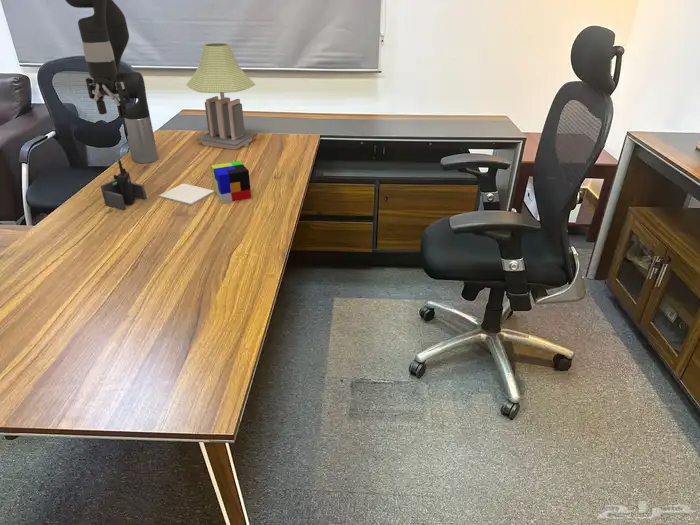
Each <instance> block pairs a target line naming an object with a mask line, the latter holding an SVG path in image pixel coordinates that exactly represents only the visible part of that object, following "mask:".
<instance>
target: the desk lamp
mask: <svg viewBox="0 0 700 525" xmlns="http://www.w3.org/2000/svg"><path fill="white" fill-rule="evenodd" d="M200 56H201V57H200V60H199V64H198V66H197V69H196V71H195V72H194V73H193V74H192V75H193V76H191V78H190V79H189V81H188V82H187V83H186V84H185V85H186V86H187V87H188V88H189V89H191V90H192V91H195V92H198V93H208V94H210V93H212V94H220V99H219V96H218V95H215V96H213V97H210V98H206V99H205V102H204V109H205V114H206V115H205V116H206V123H207V130H208V131H207V133H205V134H202V135H201V136H198V137H196V140H197V141H201V143H202V144H201V145H204V146H209V147H215V148H221V149H225V150H233V151H235V150H237V149H239V148H241V147H243V146H245V145H247V144H249V143H251V142H252V141H253V137H256V136H258V135H257V133H255V132H247V131H245V122H244V112H243V104H242V103H241V100H240V98H236V99H233V100H231V97H225V93H237V92H241V91H242V92H243V91H244V90H248V89H250V88H252V87H255V86H256V83H255V82H254V81H253V80H252V79H251V78H250V77H249V76H248V75H247V74H246V72H244V71H243V69H242V68H241V66H240V65H239V63H238V61H237V60H236V58H235V55H234V52H233V50H232V48H231V46H230V44H229V43H224V42H211V43H209V42H207V43H205V44H203V45H202V51H201V55H200Z"/></svg>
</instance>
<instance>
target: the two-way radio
mask: <svg viewBox="0 0 700 525" xmlns="http://www.w3.org/2000/svg"><path fill="white" fill-rule="evenodd" d="M117 163H118V168H119V172H120V173H119V174H118V175H117V174H114V175H113V180H116V182H117V185H118V188H119V192H120V194H121V195H123V199H124V203H125V206H129V205H133V204H134V202H135V200H136V198H135V196H134V192H133V188H132V183H131V182H132V180H131V177H130V176H131V175H130V173H129V172H127V170H126V168H123V165H122V161H121V160H120V159H118V160H117Z"/></svg>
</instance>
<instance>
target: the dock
mask: <svg viewBox="0 0 700 525" xmlns="http://www.w3.org/2000/svg"><path fill="white" fill-rule="evenodd" d="M131 183H132V188H133V192H134V196H135V199H138V200H143V201H146V200H148V197H147V194H146V188H145V185H144V184H141V183H136V182H134V181H131ZM99 186H100V188H101V193H102V196H103V200H104V205H105V206H106V207H111V208H113V209H118V210H121V211H126V210H127V206H126V204H125V203H124V199H123V195H121V194H120V192H119V188H118V185H117V182H116V180H115V179H112V180H110V181H108V182H105V183H103V184H100V185H99Z"/></svg>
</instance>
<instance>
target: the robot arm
mask: <svg viewBox="0 0 700 525" xmlns="http://www.w3.org/2000/svg"><path fill="white" fill-rule="evenodd" d="M65 2H66V4H68V5H69V6H71V7H73V8H78V9H82V8H83V9H85V8H87V9H88V8H89V9H91V8H92V9H93V14H92V15H90V16H86V17H81V18H80V19H78V21H77V26H78V29H79V34H80V38H81V41H82V49H83V55H84V59H85V62H86V67H87V70H88V74H89V76H90V77H86V78H85V84H86V87H87V92H88V97H89V99H90V100H94V102H95V104H96V107H97V111H98V114H100V115H101V116H102V115H106V114H107V113H108V111H107V107H106V102H105V100H104V99H105V97H106V96H107V97H109V98H110V99H111V100H114V103H115V104H116V107H117V111H118V116H119V118H120V119H124V123H125V128H126V132H127V136H126V137H127V138H126V139H127V143H128V148H129V152H130V156H131V160H133V161H134V163H138V164H149V163H153V162H156V161H157V160H158V159H159V155H158V151H157V150H158V149H157V144H156V140H155V139H156V138H155V134H154V129H153V124H152V119H151V113H150V110H149V105H148V104H149V103H148V99H147V92H146V85H145V80H144V76H143V75H142V73H141V72H139V71H130V72H129V71H126V72H125V71H123V72H121V71H120V63H121V60H122V56H123V54H124V52H125V50H126V47H127V46H128V42H129V39H130V33H129V29H128V25H127V20H126V17H125V15H124V12H123V11H122V10H121V8H120V7H119V6H118V5H117V4H116V3H115V1H114V0H65ZM131 99H132V100H133V99H137V101H136V102H135V103H134V104H132V105H130V106H126V105H127V104H129V103H131Z"/></svg>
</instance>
